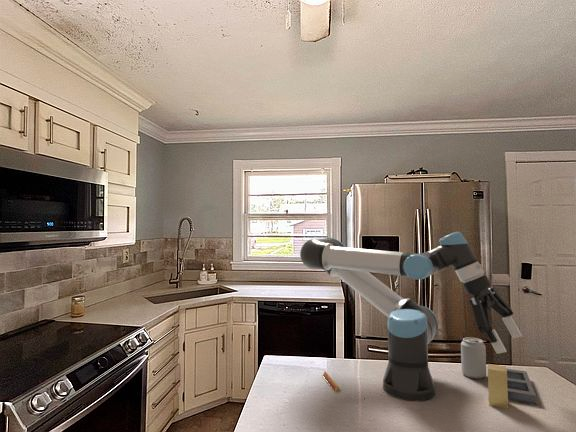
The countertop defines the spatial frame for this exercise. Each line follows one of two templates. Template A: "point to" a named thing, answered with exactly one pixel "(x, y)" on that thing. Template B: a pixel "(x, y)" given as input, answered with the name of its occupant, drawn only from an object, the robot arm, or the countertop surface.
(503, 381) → the brass block
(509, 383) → the rack
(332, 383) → the chocolate bar
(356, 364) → the countertop surface
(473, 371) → the can
